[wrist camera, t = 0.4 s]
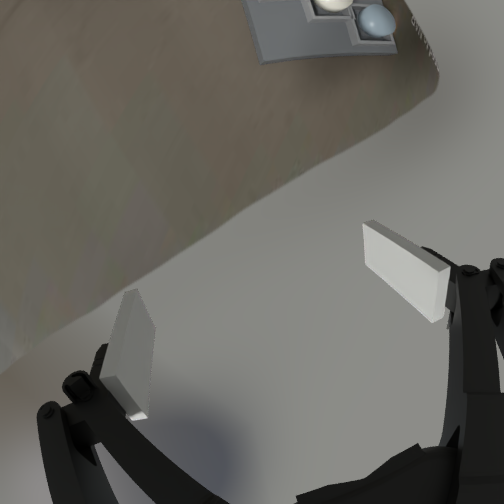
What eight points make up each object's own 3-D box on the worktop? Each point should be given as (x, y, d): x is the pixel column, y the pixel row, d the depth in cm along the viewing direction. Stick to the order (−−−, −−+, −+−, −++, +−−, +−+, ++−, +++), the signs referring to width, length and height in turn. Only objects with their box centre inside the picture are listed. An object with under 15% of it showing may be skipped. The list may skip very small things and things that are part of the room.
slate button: (353, 7, 30) (361, 2, 27) (380, 10, 30) (389, 5, 28) (362, 37, 32) (371, 33, 29) (389, 38, 32) (399, 35, 30)
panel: (231, -30, 28) (235, -43, 24) (360, -29, 30) (373, -38, 26) (259, 65, 35) (267, 58, 31) (389, 55, 37) (404, 51, 33)
